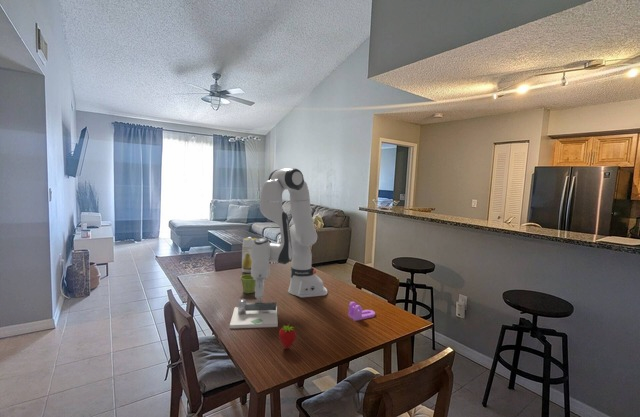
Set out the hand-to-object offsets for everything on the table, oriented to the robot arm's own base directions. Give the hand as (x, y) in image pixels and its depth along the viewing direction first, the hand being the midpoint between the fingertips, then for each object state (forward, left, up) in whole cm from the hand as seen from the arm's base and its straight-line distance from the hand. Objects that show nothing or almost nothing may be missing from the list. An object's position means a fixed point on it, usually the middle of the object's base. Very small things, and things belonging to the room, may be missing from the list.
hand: (259, 299), depth 147 cm
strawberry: (-12, +37, -4) cm, 39 cm away
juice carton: (+9, -59, -4) cm, 60 cm away
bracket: (-49, +12, -4) cm, 51 cm away
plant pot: (+6, -22, -4) cm, 23 cm away
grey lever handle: (+1, +9, -2) cm, 10 cm away
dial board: (+1, +11, -4) cm, 12 cm away
